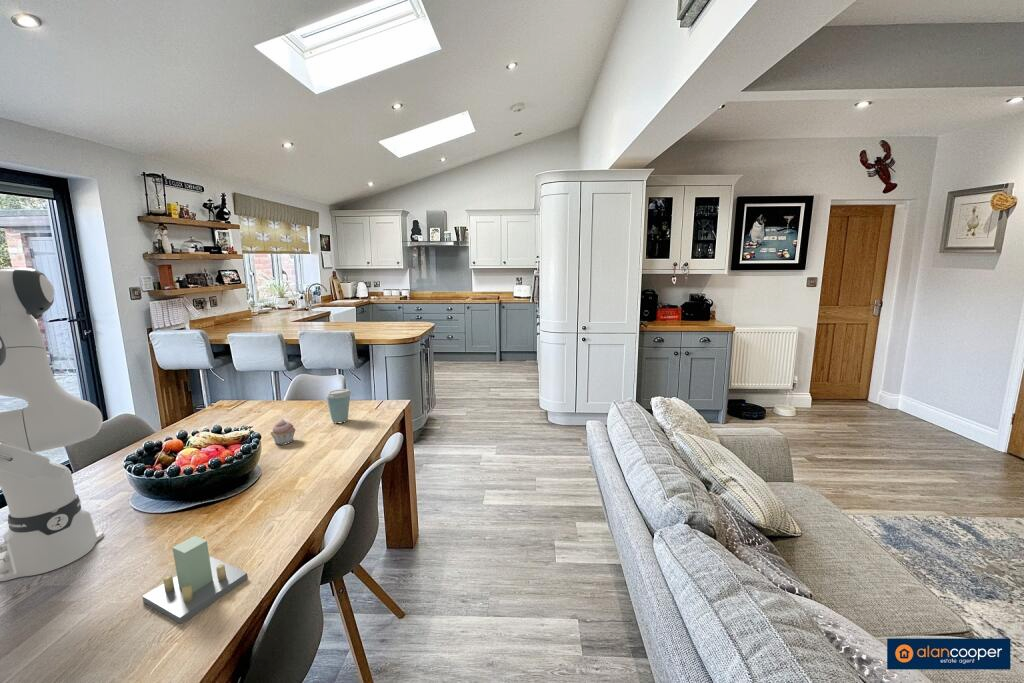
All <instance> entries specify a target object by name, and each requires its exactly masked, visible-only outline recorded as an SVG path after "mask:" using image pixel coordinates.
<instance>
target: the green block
mask: <svg viewBox="0 0 1024 683" xmlns="http://www.w3.org/2000/svg"><path fill="white" fill-rule="evenodd" d="M171 548H172V552H173V559H174V566H175V572H176V576H177V578H178V584H179V588H181V589H182V588H183V587H185V586H187V585H191V587H192V593H194V592H195V591H197V590H198V589H200V588H202V587H203V586H205V585H206V584H208V583H209V582H211V581H213V578H212V571H211V565H210V558H209V557H210V552H209V546H208V540H206V539H205V538H204V539H203V538H202V537H199V536H197V535H193V536H192V537H189V538H188V539H186V540H184V541H182V542H180V543H178V544H176V545H175V546H173V547H171Z"/></svg>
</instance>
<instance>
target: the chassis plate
mask: <svg viewBox="0 0 1024 683" xmlns="http://www.w3.org/2000/svg"><path fill="white" fill-rule="evenodd" d="M209 558H210V565H211V571H212V578H213V581H211V582H209V583H208V584H206V585H205V586H203V587H202V588H200V589H198V590H197V591H195V592H194V593H192V587H191V585H187V586H185V587H183V588H182V589H181V588H179V584H178V578H177V575H176V576H174V577H173V575H171V574H170V575H167V576H165V577H163V579H162V582H163V583H162V584H160V585H159V586H157V587H155V588H153V589H152V590H150V591H148V592H147V593H145V594H143V595H142V596H141V598H142V601H143V603H144V604H146V605H148V606H149V607H151V608H153V609H155V610H157V611H158V612H159V613H162V614H163V615H165V616H167V617H168V618H170V619H172V620H174V621H175V622H176V623H178V624H180V625H182V624H184V623H185V622H186V621H188V620H189V619H191V618H192V617H193V616H195V615H197V614H198V613H199V612H201V611H203V610H204V609H205V608H207V607H208V606H210V605H211V604H213V603H214V602H216V601H217V600H219V599H220V598H221V597H223V596H225V595H226V594H227V593H229V592H230V591H231V590H233V589H235V588H237V587H238V586H239V585H240V584H242V583H244V582H245V581H246V580H248V578H249V577H248V572H246V571H245V570H244V571H243V570H242V569H239V568H237V567H236V566H232V565H231V564H229V563H226V562H225V561H222V560H220V559H217V558H216V557H213V556H210V555H209Z"/></svg>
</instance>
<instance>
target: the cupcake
mask: <svg viewBox="0 0 1024 683" xmlns="http://www.w3.org/2000/svg"><path fill="white" fill-rule="evenodd" d="M296 431H297V429H296V427H294V425H293V424H292V423H291V422H290V421H286V420H284V418H281V419H280V420H277V422H276V423H275V425H274V426H273V427H272V431H271V432H270V436H271V437H272V438H273V440H274V443H275V445H277V444H285V443H288V442H291V441H292V440H293V441H294V435H295V433H296ZM293 441H292V442H293ZM292 442H291V443H292ZM285 445H286V444H285Z"/></svg>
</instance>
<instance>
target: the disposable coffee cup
mask: <svg viewBox="0 0 1024 683" xmlns="http://www.w3.org/2000/svg"><path fill="white" fill-rule="evenodd" d="M351 395H352V392H351V391H350V389H348V388H340V389H339V388H337V389H334V390H333V389H332V390H330V391H328V392H327V393H326V395H325V397H326V400H327V404H328V409H329V414H330V418H331V422H332V423H333V422H336V423H338V422H344V421H346V420H347V421H348V419H349V410H350V408H349V407H350V399H351ZM347 421H346V422H347ZM336 423H335V424H336ZM344 423H345V422H344Z"/></svg>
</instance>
